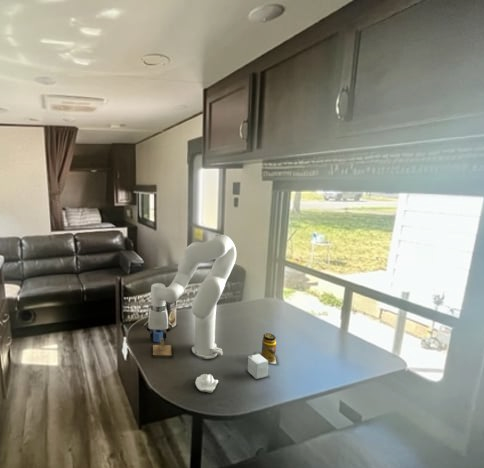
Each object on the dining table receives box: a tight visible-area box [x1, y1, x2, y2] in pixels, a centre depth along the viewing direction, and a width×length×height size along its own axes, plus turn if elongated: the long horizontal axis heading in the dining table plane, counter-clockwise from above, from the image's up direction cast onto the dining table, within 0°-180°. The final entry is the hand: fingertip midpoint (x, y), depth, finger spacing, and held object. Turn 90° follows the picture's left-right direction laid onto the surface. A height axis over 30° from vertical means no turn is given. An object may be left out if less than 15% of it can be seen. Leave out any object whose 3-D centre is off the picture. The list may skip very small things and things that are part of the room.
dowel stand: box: [152, 338, 172, 356], centre depth 148 cm, size 9×9×7 cm
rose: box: [194, 373, 219, 393], centre depth 124 cm, size 10×4×10 cm
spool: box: [152, 329, 164, 344], centre depth 157 cm, size 6×6×5 cm
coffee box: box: [166, 300, 177, 328], centre depth 174 cm, size 9×6×16 cm
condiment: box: [255, 332, 277, 365], centre depth 141 cm, size 7×8×12 cm
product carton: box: [247, 353, 269, 380], centre depth 131 cm, size 6×6×7 cm
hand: (158, 338), depth 158 cm, fingers closed on spool, 5 cm apart
